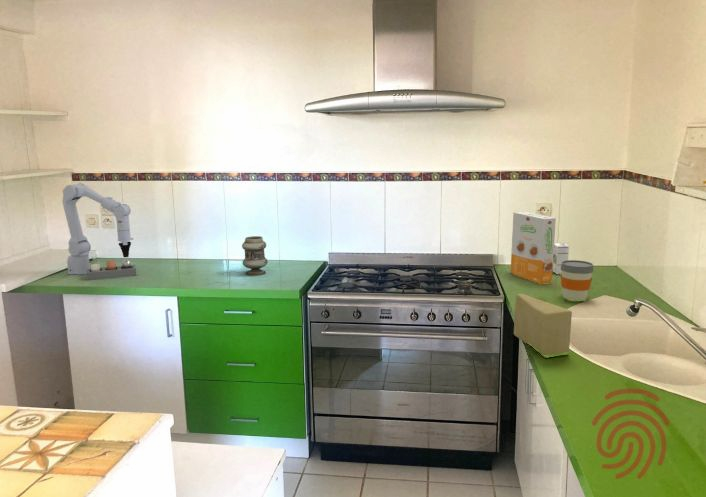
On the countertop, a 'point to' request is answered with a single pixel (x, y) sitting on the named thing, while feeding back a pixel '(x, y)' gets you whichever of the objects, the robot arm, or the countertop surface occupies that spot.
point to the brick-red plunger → (111, 265)
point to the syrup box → (559, 256)
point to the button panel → (111, 273)
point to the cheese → (542, 325)
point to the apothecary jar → (254, 255)
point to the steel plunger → (126, 264)
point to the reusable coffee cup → (576, 279)
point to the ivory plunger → (95, 267)
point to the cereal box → (533, 246)
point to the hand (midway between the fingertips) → (126, 257)
